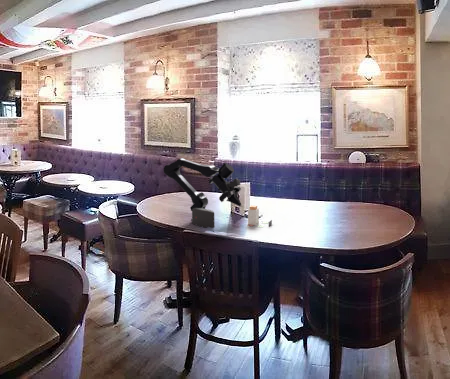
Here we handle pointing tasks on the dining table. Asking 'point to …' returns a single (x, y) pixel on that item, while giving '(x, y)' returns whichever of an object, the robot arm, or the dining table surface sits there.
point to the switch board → (263, 222)
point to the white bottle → (253, 215)
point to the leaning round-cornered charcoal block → (203, 217)
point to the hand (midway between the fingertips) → (240, 205)
